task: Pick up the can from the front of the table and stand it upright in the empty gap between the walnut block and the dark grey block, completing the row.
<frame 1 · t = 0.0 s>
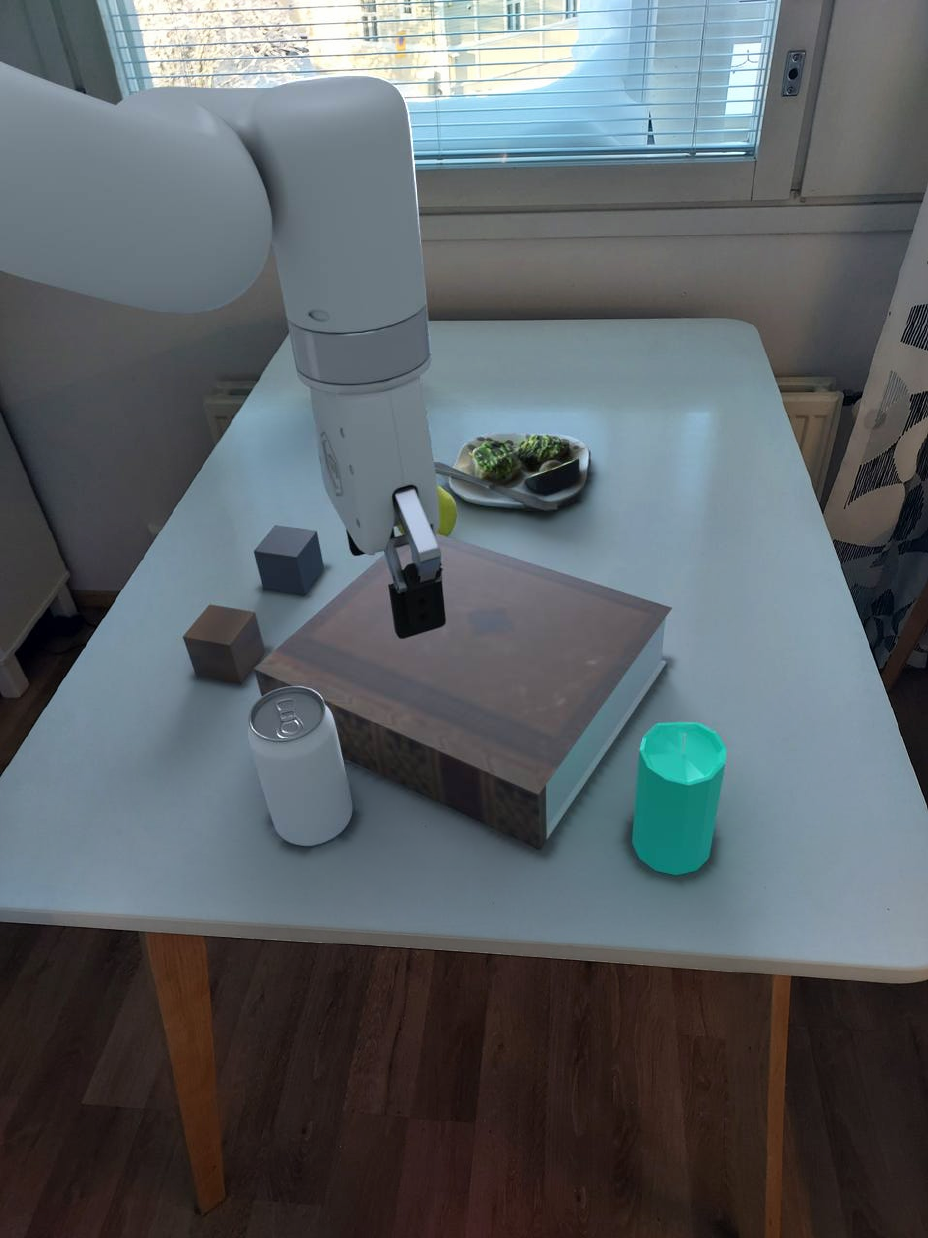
hand: (395, 587, 61), 22 cm above the table, tool pointing down, fingers open, 9 cm apart
book: (471, 693, 86), on the table
fruit: (428, 542, 105), on the table
candle: (671, 843, 71), on the table
block near: (231, 663, 91), on the table
can: (314, 818, 76), on the table
salad plate: (523, 480, 114), on the table
cup: (386, 374, 139), on the table
block far: (294, 578, 101), on the table
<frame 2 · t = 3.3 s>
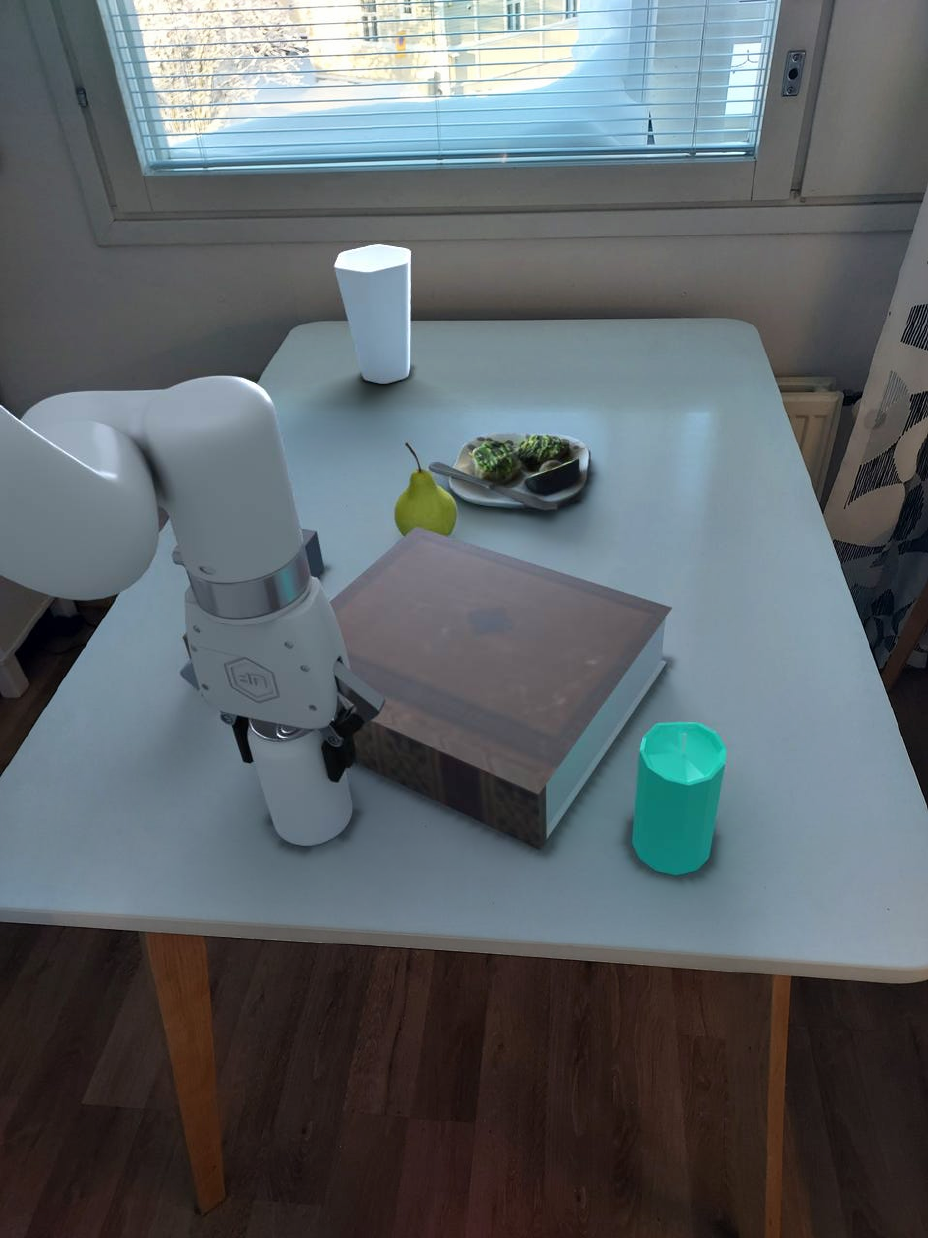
hand: (298, 757, 71), 7 cm above the table, tool pointing down, fingers closed on can, 6 cm apart
can: (314, 818, 76), on the table, touching gripper
everything else where it was.
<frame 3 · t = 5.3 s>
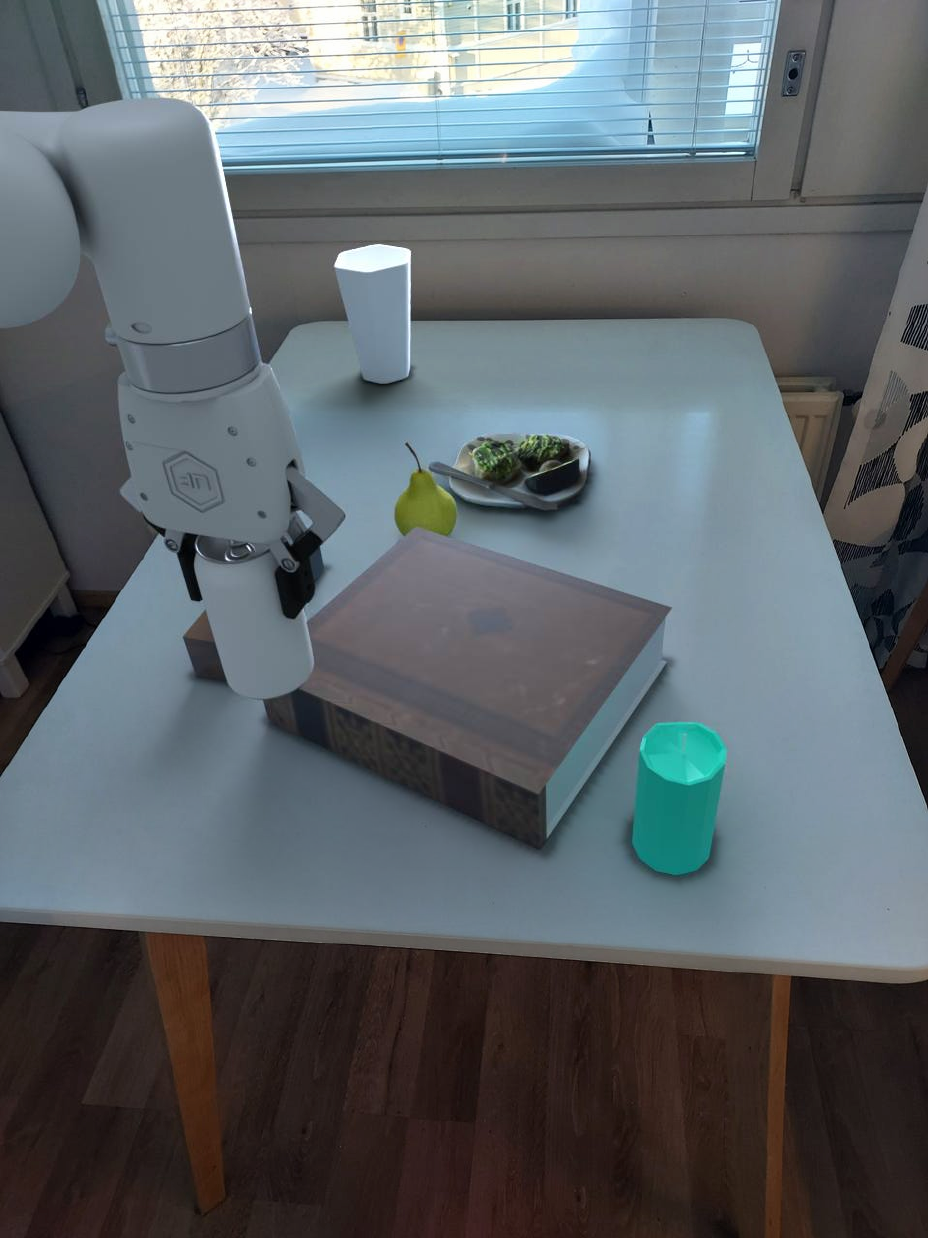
hand: (252, 596, 64), 21 cm above the table, tool pointing down, fingers closed on can, 6 cm apart
can: (271, 674, 68), point 14 cm above the table, touching gripper
everything else where it was.
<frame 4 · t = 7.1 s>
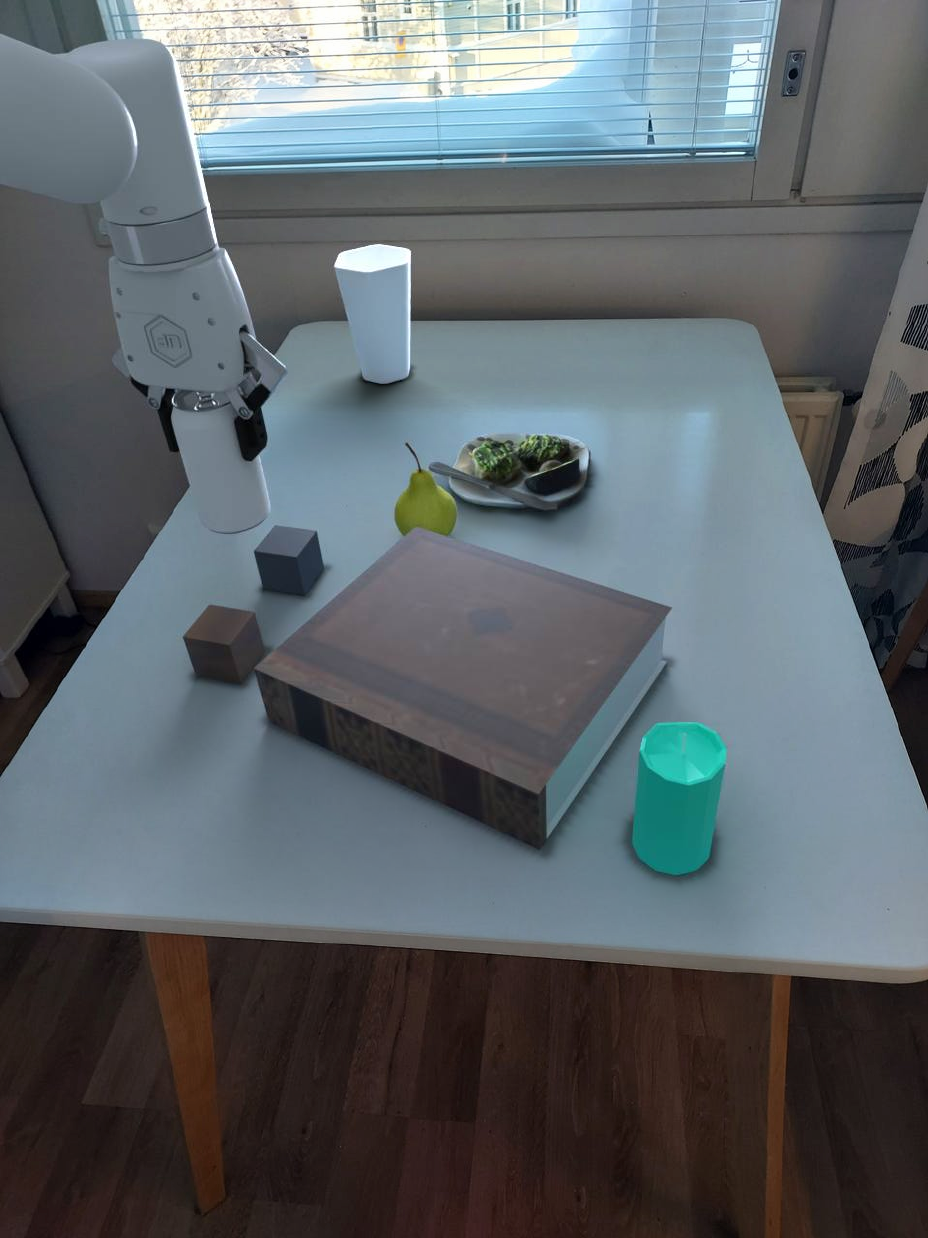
hand: (218, 447, 80), 21 cm above the table, tool pointing down, fingers closed on can, 6 cm apart
can: (236, 517, 85), point 14 cm above the table, touching gripper
everything else where it was.
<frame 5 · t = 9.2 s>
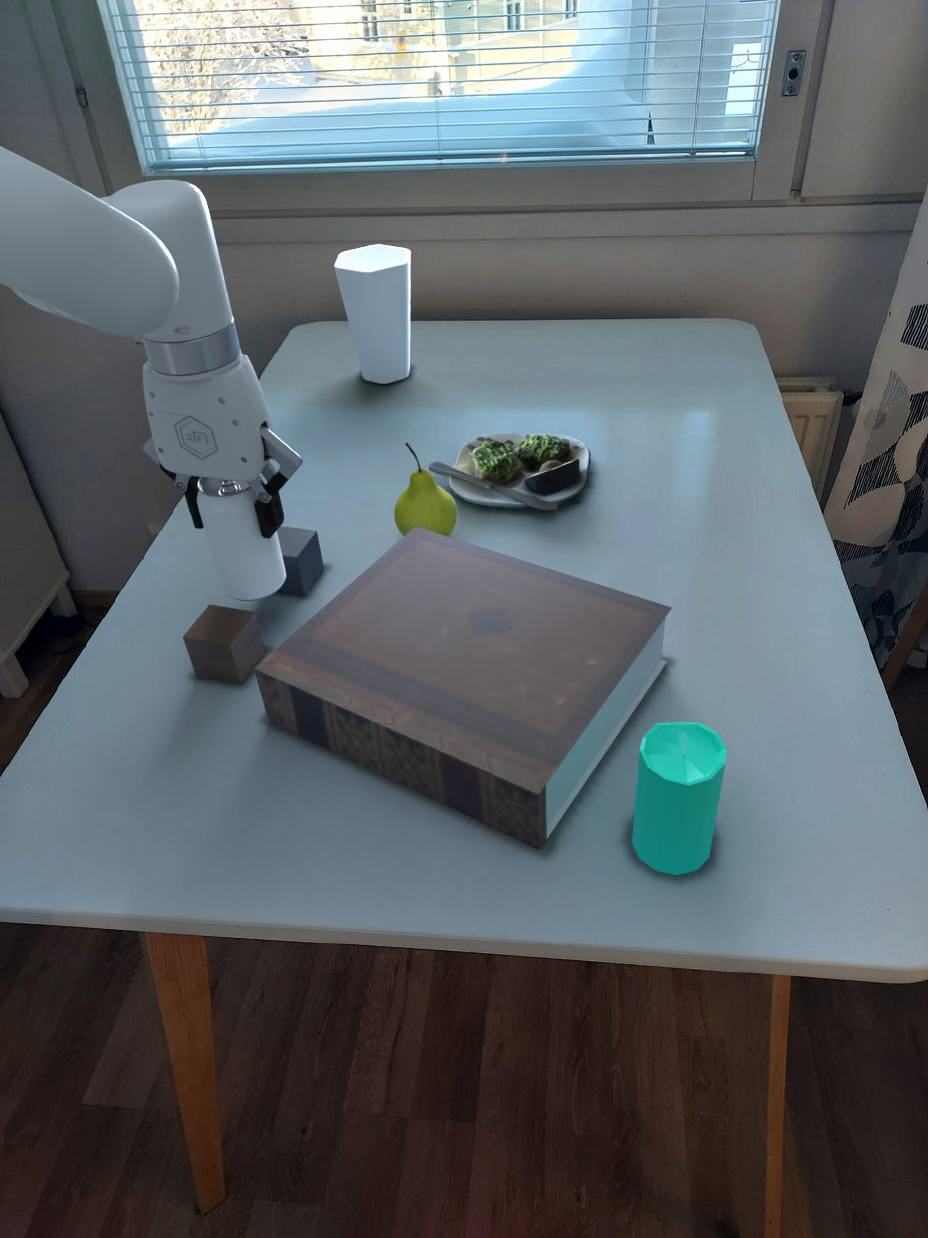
hand: (239, 524, 88), 12 cm above the table, tool pointing down, fingers closed on can, 6 cm apart
can: (255, 584, 93), point 4 cm above the table, touching gripper
everything else where it was.
when the fingers open (7 cm above the table, at t = 10.9 s): can stays where it is, on the table.
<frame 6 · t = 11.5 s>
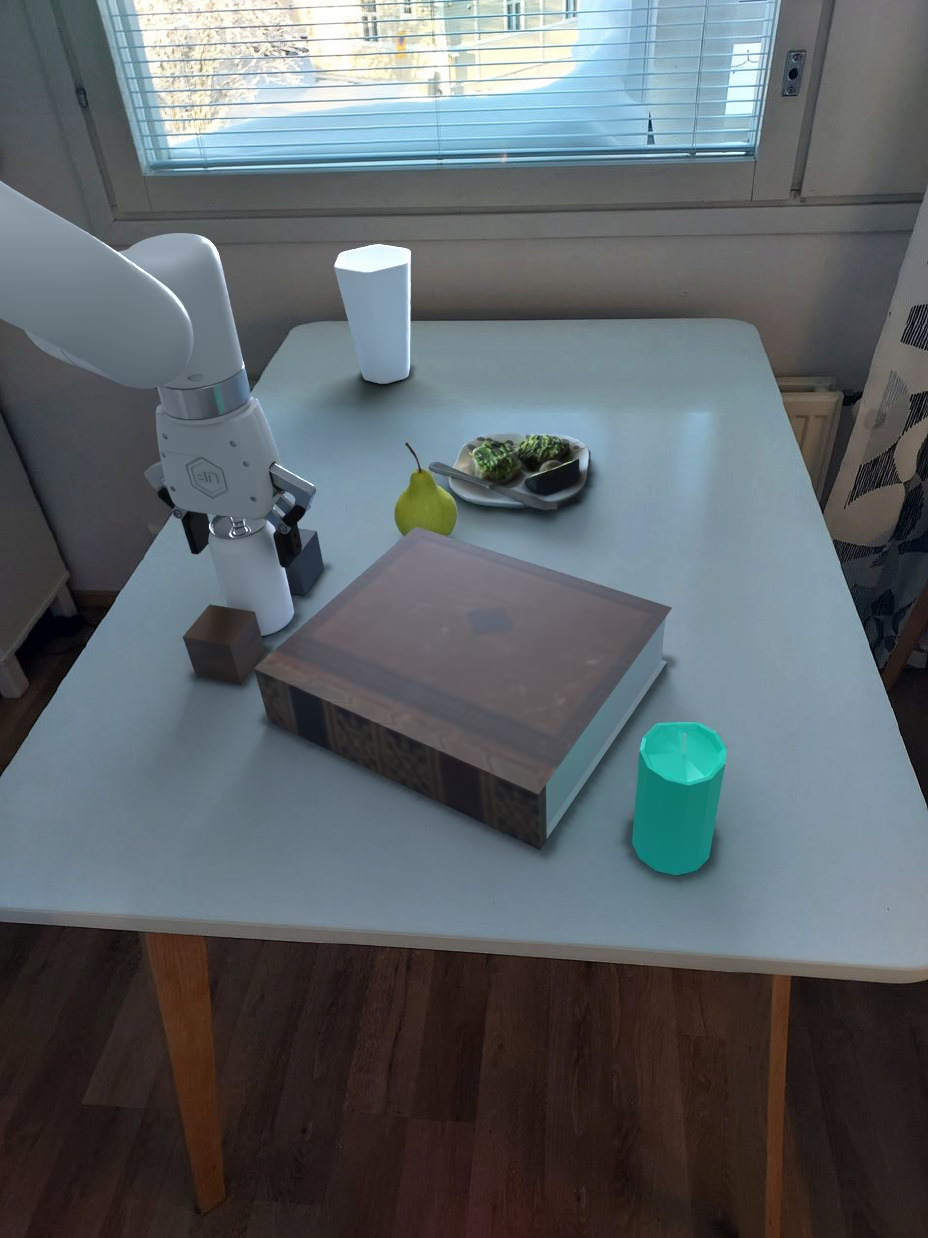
hand: (246, 552, 90), 8 cm above the table, tool pointing down, fingers open, 9 cm apart
can: (263, 620, 96), on the table
everything else where it was.
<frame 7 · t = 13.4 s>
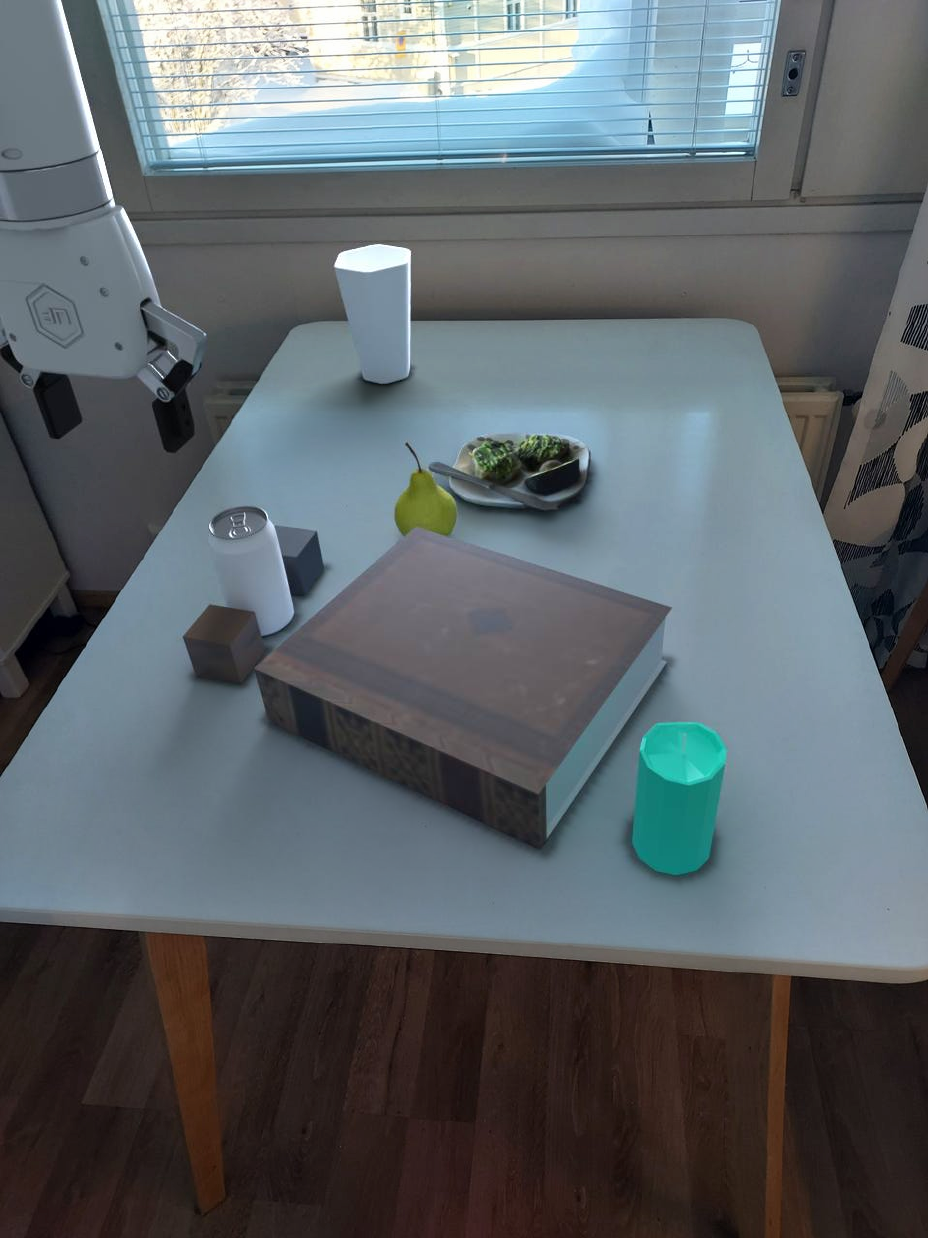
hand: (123, 437, 68), 28 cm above the table, tool pointing down, fingers open, 9 cm apart
nothing on the table moved.
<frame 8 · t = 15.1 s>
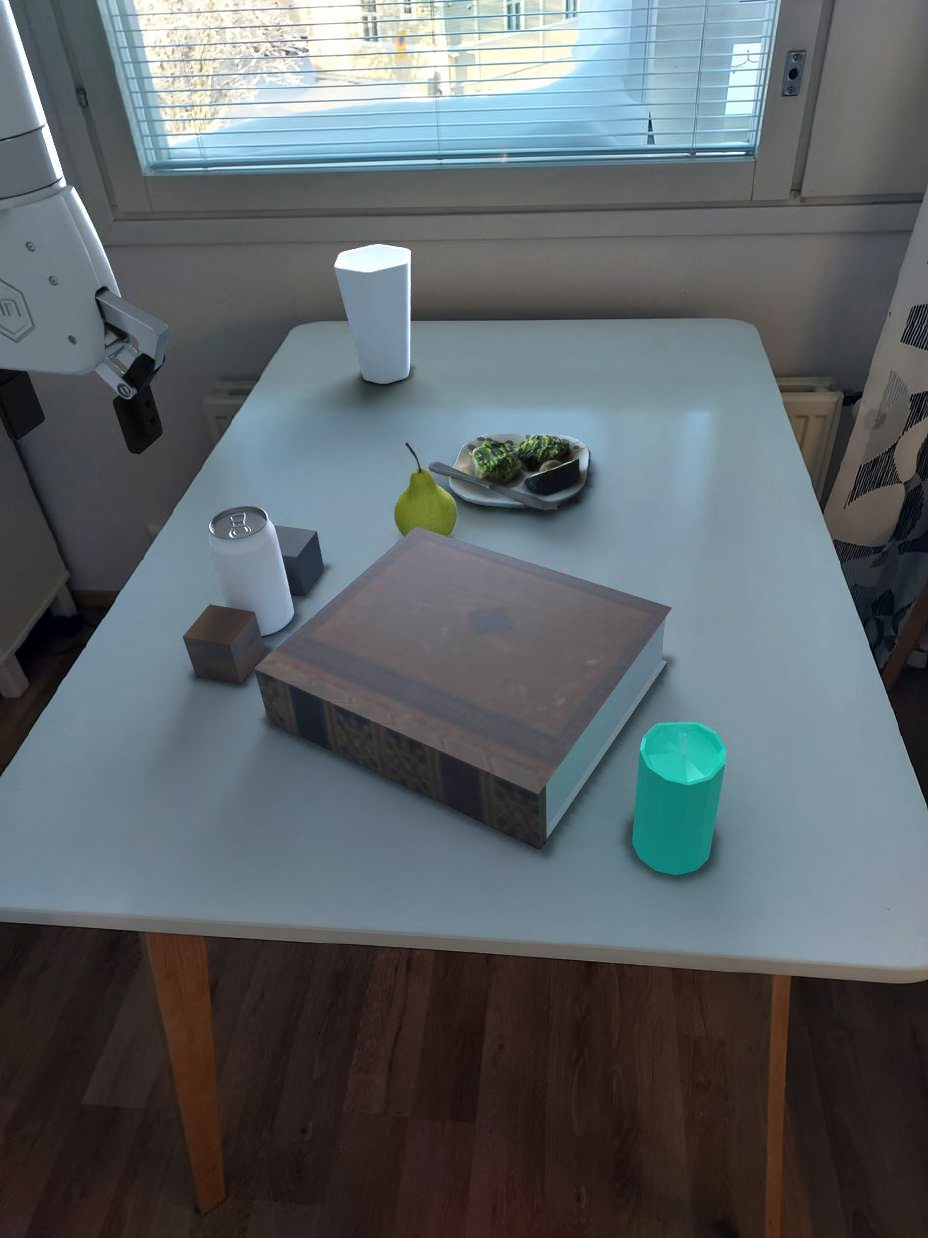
hand: (86, 437, 64), 30 cm above the table, tool pointing down, fingers open, 9 cm apart
nothing on the table moved.
at the end: can 0.1 cm from the target spot on the table beside the block far, on the table; can tilted 0°; block far moved 0.0 cm from its start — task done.
